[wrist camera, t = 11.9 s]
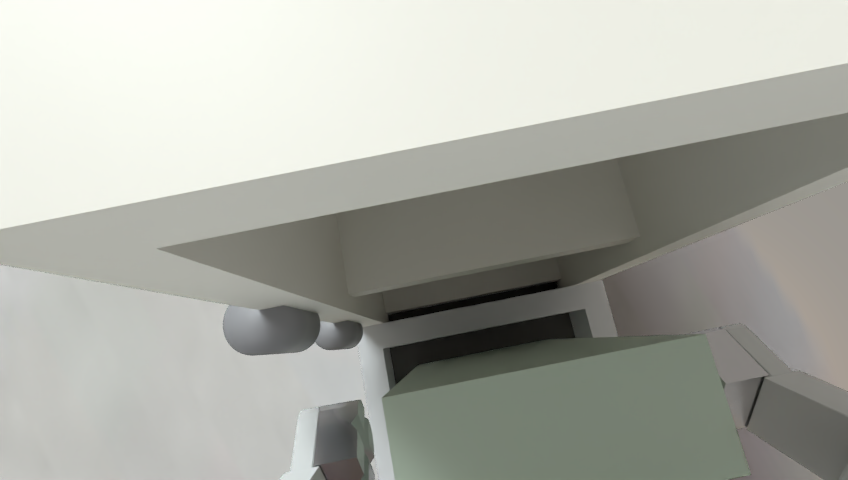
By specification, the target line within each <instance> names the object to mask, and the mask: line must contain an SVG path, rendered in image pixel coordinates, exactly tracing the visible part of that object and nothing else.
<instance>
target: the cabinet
mask: <svg viewBox="0 0 848 480" xmlns="http://www.w3.org/2000/svg"><path fill="white" fill-rule="evenodd" d="M846 182H848V0H0V265H5V266H11V267H16V268H22V269H28V270H33V271H39V272H45V273H50V274H56V275H62V276H68V277H73V278H79V279H85V280H90V281H96V282H102V283H107V284H113V285H119V286H124V287H130V288H136V289H141V290H147V291H153V292H159V293H164V294H170V295H176V296H181V297H187V298H193V299H198V300H204V301H210V302H215V303H221V304H227V305H229V306H228V308H227V310H226V312H225V315H224V319H223V331H224V335H225V338H226V340H227V342H228V343H229V344H230V346H231V347H232V348H233V349H235V350H236V351H238V352H240V353H242V354H245V355H267V354H281V353H296V352H301V351H304V350H306V349H308V348H309V347H310V346H311V345H312V344H313V343H314V342H316V344H317V345H318V346H319V347H321V348H323V349H326V350H339V349H350V348H353V347H355V346H356V345H357V346H358V352H359V359H360V365H361V372H362V378H363V384H364V391H365V397H366V403H367V410H368V416H369V423H370V426H371V430H372V435H373V443H374V454H375V461H376V467H377V474H378V480H395V477H394V471H393V465H392V459H391V453H390V446H389V440H388V434H387V428H386V422H385V416H384V410H383V404H382V397H383V396H384V395H385V394H387V393H388V392H389V391H390V390H391V389H392V388H393V387H394V386H395V385H396V382H395V376H394V371H393V365H392V359H391V353H390V348H391V347H397V346H402V345H407V344H412V343H417V342H422V341H427V340H432V339H437V338H442V337H447V336H452V335H457V334H462V333H467V332H472V331H477V330H482V329H488V328H493V327H498V326H503V325H508V324H513V323H518V322H523V321H528V320H533V319H538V318H543V317H548V316H553V315H558V314H563V313H568V312H569V315H570V319H571V323H572V327H573V331H574V335H575V338H598V337H618V333H617V330H616V326H615V323H614V319H613V316H612V312H611V308H610V305H609V301H608V298H607V294H606V291H605V287H604V284H603V280H601V279H603V278H606V277H609V276H611V275H614V274H616V273H619V272H621V271H624V270H626V269H629V268H631V267H634V266H636V265H639V264H641V263H644V262H646V261H649V260H651V259H654V258H657V257H659V256H662V255H664V254H667V253H669V252H672V251H674V250H677V249H679V248H682V247H684V246H687V245H689V244H692V243H694V242H697V241H699V240H702V239H705V238H707V237H710V236H712V235H715V234H717V233H720V232H722V231H725V230H727V229H730V228H732V227H735V226H737V225H740V224H742V223H745V222H747V221H750V220H753V219H755V218H757V217H760V216H762V215H765V214H768V213H770V212H773V211H775V210H777V209H780V208H783V207H785V206H788V205H790V204H793V203H795V202H798V201H801V200H803V199H806V198H808V197H810V196H813V195H815V194H818V193H821V192H823V191H826V190H828V189H831V188H833V187H836V186H838V185H841V184H843V183H846ZM598 280H599V281H598ZM551 282H557V286H558V289H554V290H549V291H543V292H538V293H533V294H528V295H523V296H518V297H513V298H508V299H503V300H498V301H493V302H488V303H483V304H478V305H473V306H468V307H463V308H457V309H452V310H447V311H442V312H437V313H432V314H427V315H422V316H417V317H412V318H407V319H402V320H397V321H392V322H389V316H388V315H389V314H394V313H399V312H404V311H409V310H414V309H419V308H424V307H429V306H434V305H440V304H445V303H450V302H455V301H460V300H465V299H470V298H475V297H480V296H485V295H490V294H495V293H500V292H505V291H510V290H515V289H521V288H526V287H531V286H536V285H541V284H546V283H551Z"/></svg>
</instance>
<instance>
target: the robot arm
mask: <svg viewBox="0 0 848 480" xmlns="http://www.w3.org/2000/svg"><path fill="white" fill-rule="evenodd" d="M689 334H706V337H707V340H708V343H709V346H710V349H711V352H712V355H713V358H714V361H715V365H716V368H717V371H718V374H719V377H720V380H721V383H722V386H723V389H724V392H725V395H726V399H727V402H728V405H729V408H730V411H731V414H732V417H733V420H734V423H735V426H736V429H742V428H747V430H748V431H750V432H751V433H753V434H754V435H756V436H758V437H759V438H761V439H762V440H764V441H765V442H767V443H768V444H770V445H771V446H773V447H774V448H776V449H778V450H779V451H781V452H782V453H784V454H785V455H787V456H788V457H790V458H791V459H793V460H795V461H796V462H798V463H799V464H801V465H802V466H804V467H805V468H807V469H808V470H810V471H811V472H813V473H815V474H816V475H818V476H819V477H821V478H822V479H824V480H848V391H846V390H843V389H841V388H839V387H836V386H834V385H832V384H829V383H827V382H825V381H822V380H820V379H818V378H815V377H813V376H811V375H808V374H806V373H804V372H801V371H792V370H791V369H790V368H789V367H788V366H787V365H786V364H785V363H784V362H782V361H781V360H780V359H779V358H778V357H777V356H776V355H775V354H774V353H773V352H772V351H771V350H770V349H769V348H768V347H767V346H766V345H765V344H764V343H763V342H762V341H761V340H760V339H759V338H758V337H757V336H756V335H754V334H753V333H752V332H751V331H750V330H749V329H748V328H747V327H746V326H745V325H742V324H740V323H739V324H734V325H729V326H724V327H719V328H712V329H708V330H703V331H698V332H693V333H689ZM684 335H685V334H684ZM373 458H374V443H373V435H372V430H371V426H370V423H369V420H368V419H367V418H365V417H364V406H363V404H362V401H361V400H355V401H349V402H343V403H337V404H332V405H326V406H321V407H315V408H310V409H304V410H301V411H300V414H299V416H298V421H297V428H296V434H295V441H294V448H293V455H292V461H291V468H290V472H287V473H284V474H283V475H282V477H281V478H280V479H279V480H375V474H374V472H373V469H372V466H371V464H370V463H371V462H372V460H373Z"/></svg>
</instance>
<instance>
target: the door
mask: <svg viewBox="0 0 848 480" xmlns="http://www.w3.org/2000/svg"><path fill="white" fill-rule="evenodd" d="M382 404H383V410H384V416H385V422H386V428H387V434H388V440H389V446H390V453H391V459H392V465H393V471H394V477H395V480H728V479H733V478H738V477H743V476H748V475H751V473H750V470H749V467H748V464H747V460H746V457H745V454H744V451H743V448H742V445H741V442H740V439H739V436H738V433H737V430H736V426H735V423H734V420H733V417H732V414H731V411H730V408H729V405H728V402H727V399H726V395H725V392H724V389H723V386H722V383H721V380H720V377H719V374H718V371H717V368H716V365H715V361H714V358H713V355H712V352H711V349H710V346H709V343H708V340H707V337H706V334H685V335H656V336H627V337H598V338H568V339H546V340H541V341H536V342H531V343H526V344H521V345H516V346H511V347H506V348H500V349H495V350H490V351H485V352H480V353H475V354H470V355H465V356H460V357H455V358H450V359H445V360H440V361H435V362H430V363H425V364H420V365H417V366H416V367H415V368H414V369H413V370H412V371H411V372H410V373H409V374H408V375H406V376H405V377H404V378H403V379H402V380H401V381H400V382H399V383H398V384H396V385H395V386H394V387H393V388H392V389H391V390H390V391H389V392H388V393H387V394H385V395H384V396H383V397H382Z"/></svg>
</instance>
